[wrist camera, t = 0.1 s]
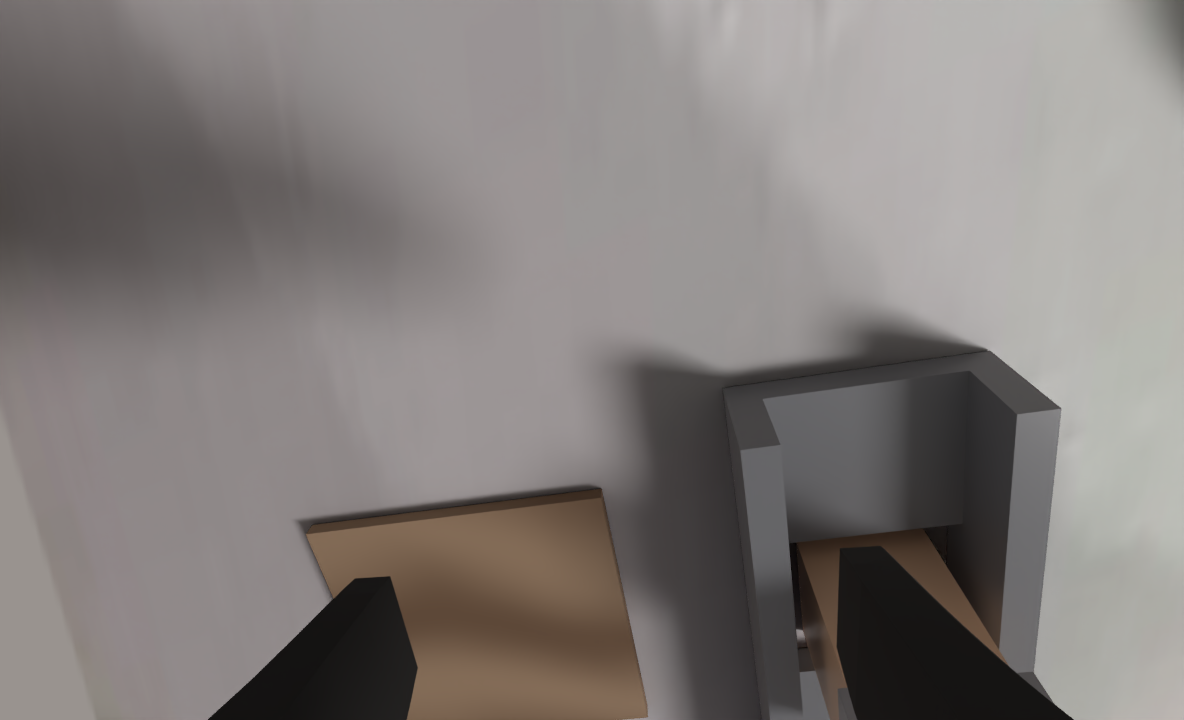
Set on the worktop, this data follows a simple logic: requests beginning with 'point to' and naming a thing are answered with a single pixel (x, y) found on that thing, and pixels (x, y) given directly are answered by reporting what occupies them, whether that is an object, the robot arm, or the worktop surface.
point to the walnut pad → (502, 606)
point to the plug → (822, 602)
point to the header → (893, 493)
